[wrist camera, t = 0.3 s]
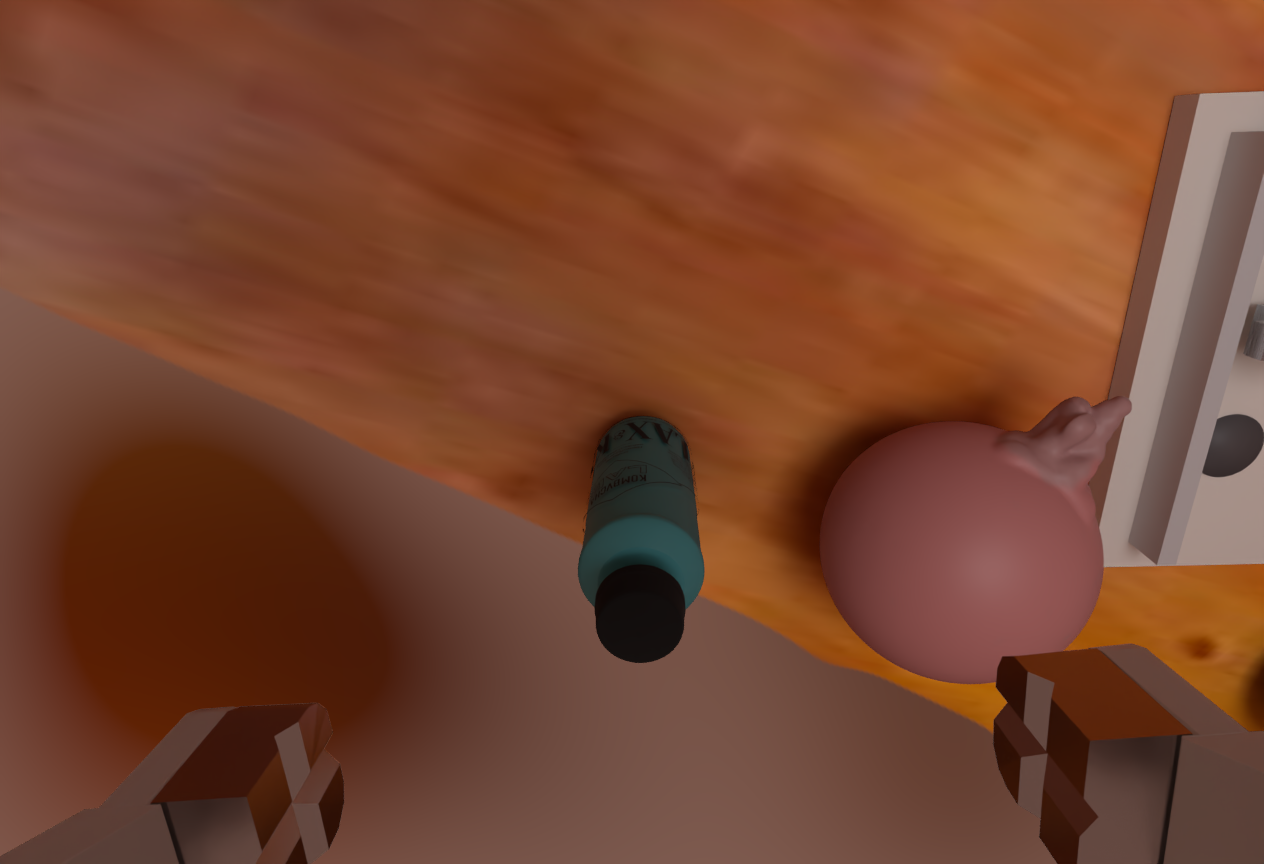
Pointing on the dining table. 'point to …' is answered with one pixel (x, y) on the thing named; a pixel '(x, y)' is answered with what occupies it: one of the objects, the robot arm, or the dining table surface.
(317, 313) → the dining table surface
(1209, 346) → the grey peg board
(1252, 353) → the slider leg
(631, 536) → the beverage bottle
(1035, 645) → the balloon
